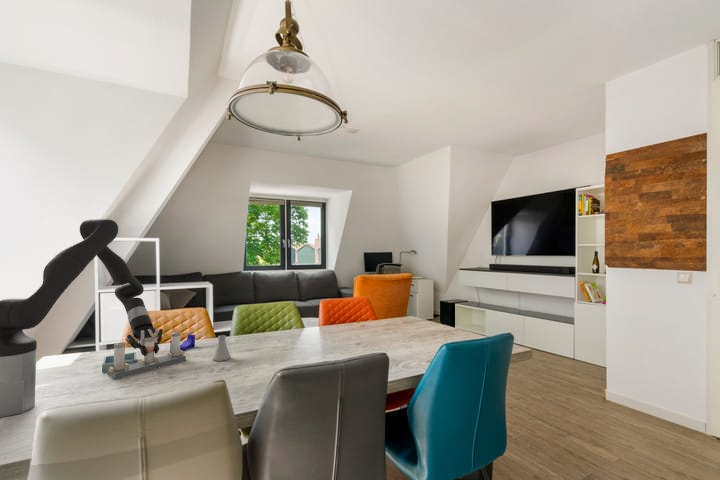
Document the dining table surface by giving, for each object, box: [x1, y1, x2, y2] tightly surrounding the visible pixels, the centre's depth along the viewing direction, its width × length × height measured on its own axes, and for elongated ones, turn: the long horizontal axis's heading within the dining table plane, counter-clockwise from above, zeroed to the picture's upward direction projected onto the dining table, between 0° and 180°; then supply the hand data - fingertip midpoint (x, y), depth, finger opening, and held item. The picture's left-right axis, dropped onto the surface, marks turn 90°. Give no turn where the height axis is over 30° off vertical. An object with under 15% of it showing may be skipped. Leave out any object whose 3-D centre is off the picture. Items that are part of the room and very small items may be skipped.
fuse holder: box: [106, 350, 187, 380], centre depth 136 cm, size 27×8×4 cm, turn 144°
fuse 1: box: [113, 341, 126, 371], centre depth 128 cm, size 4×4×10 cm
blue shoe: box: [169, 334, 196, 354], centre depth 161 cm, size 12×4×6 cm, turn 164°
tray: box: [101, 351, 137, 373], centre depth 139 cm, size 12×11×3 cm
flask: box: [212, 334, 232, 362], centre depth 147 cm, size 7×7×10 cm
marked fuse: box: [143, 336, 156, 364], centre depth 137 cm, size 4×4×10 cm
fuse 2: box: [170, 331, 182, 357], centre depth 145 cm, size 4×4×10 cm
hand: (151, 353), depth 135 cm, fingers closed on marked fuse, 3 cm apart
